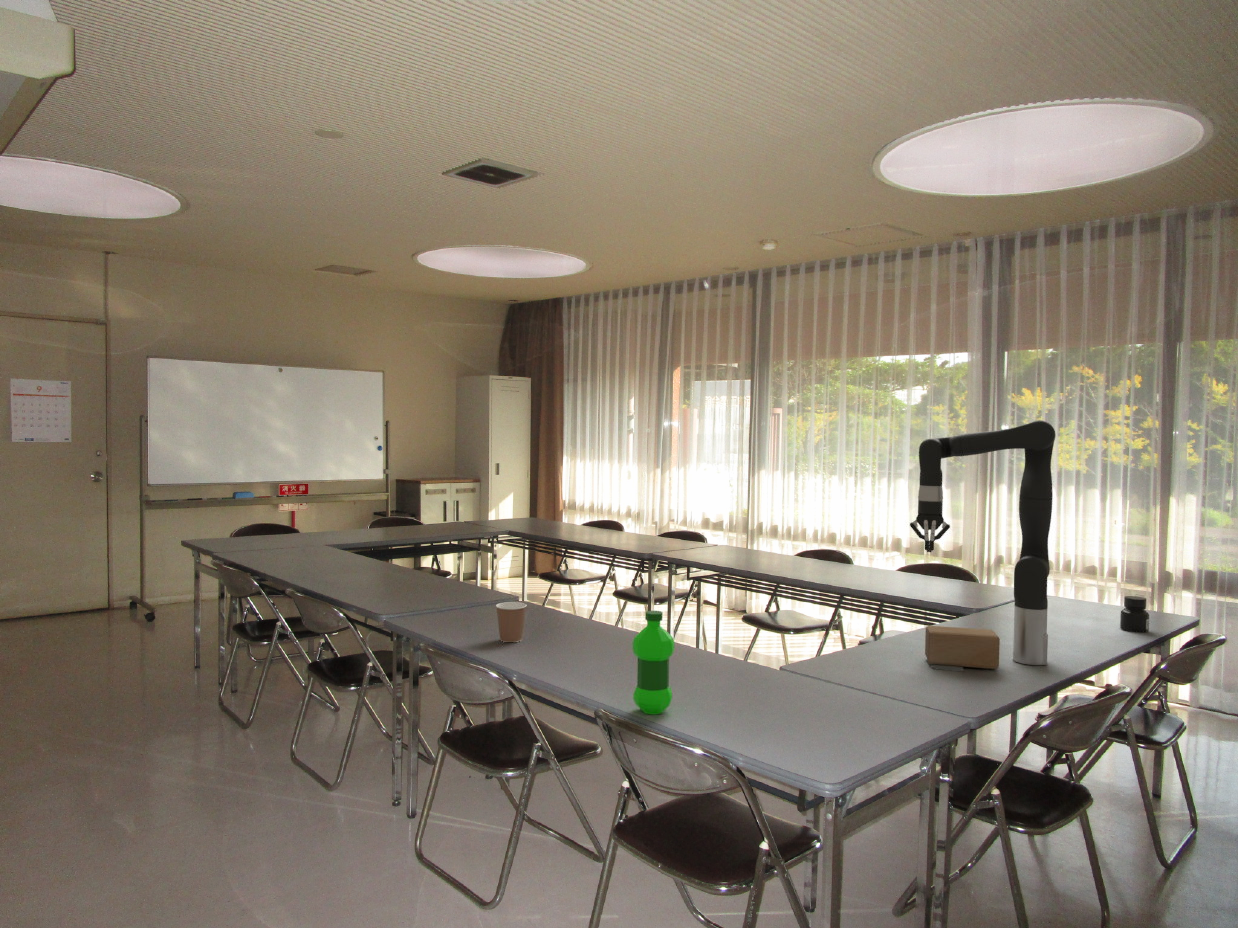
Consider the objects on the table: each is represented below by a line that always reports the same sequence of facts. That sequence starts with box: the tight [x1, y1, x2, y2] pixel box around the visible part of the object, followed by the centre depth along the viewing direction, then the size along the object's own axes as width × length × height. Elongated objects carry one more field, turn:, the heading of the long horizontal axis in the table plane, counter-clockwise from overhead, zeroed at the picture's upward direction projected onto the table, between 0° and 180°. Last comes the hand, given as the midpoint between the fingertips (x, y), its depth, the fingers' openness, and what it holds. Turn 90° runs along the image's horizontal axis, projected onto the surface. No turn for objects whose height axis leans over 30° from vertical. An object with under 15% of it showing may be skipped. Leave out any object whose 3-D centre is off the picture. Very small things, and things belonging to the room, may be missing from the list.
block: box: [924, 625, 1001, 670], centre depth 252 cm, size 10×10×20 cm
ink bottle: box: [1119, 595, 1150, 633], centre depth 300 cm, size 10×9×12 cm
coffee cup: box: [495, 601, 528, 643], centre depth 275 cm, size 10×10×12 cm
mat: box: [930, 664, 964, 672], centre depth 252 cm, size 9×13×1 cm
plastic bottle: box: [632, 610, 675, 715], centre depth 207 cm, size 10×10×25 cm
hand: (929, 551), depth 270 cm, fingers closed
